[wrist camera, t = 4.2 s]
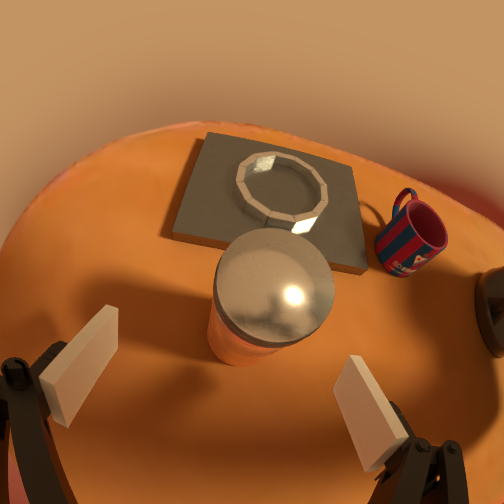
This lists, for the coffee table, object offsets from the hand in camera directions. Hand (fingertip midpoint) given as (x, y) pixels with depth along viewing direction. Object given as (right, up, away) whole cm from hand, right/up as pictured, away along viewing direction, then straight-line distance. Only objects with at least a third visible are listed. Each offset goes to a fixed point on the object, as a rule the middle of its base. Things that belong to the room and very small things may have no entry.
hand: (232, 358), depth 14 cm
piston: (0, -1, +9) cm, 9 cm away
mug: (+19, +7, +18) cm, 27 cm away
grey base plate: (+4, +12, +17) cm, 21 cm away
